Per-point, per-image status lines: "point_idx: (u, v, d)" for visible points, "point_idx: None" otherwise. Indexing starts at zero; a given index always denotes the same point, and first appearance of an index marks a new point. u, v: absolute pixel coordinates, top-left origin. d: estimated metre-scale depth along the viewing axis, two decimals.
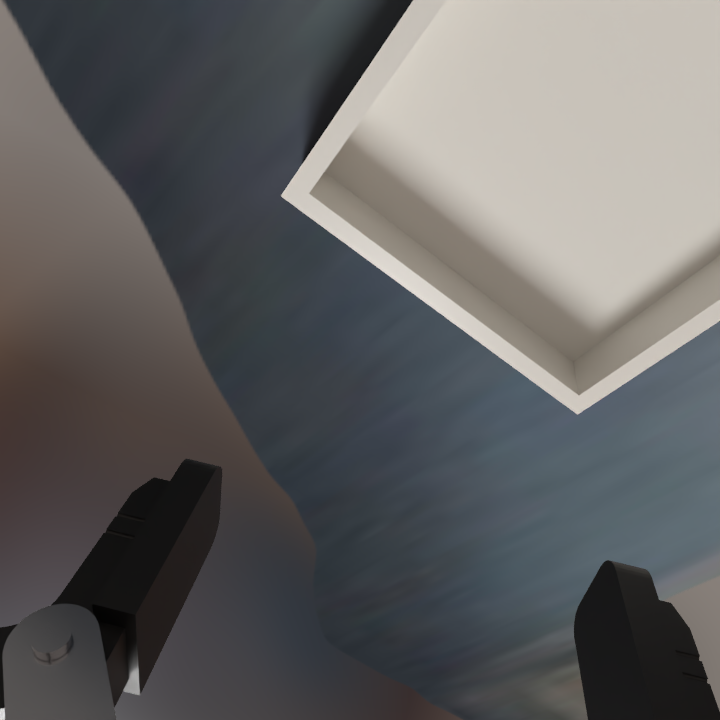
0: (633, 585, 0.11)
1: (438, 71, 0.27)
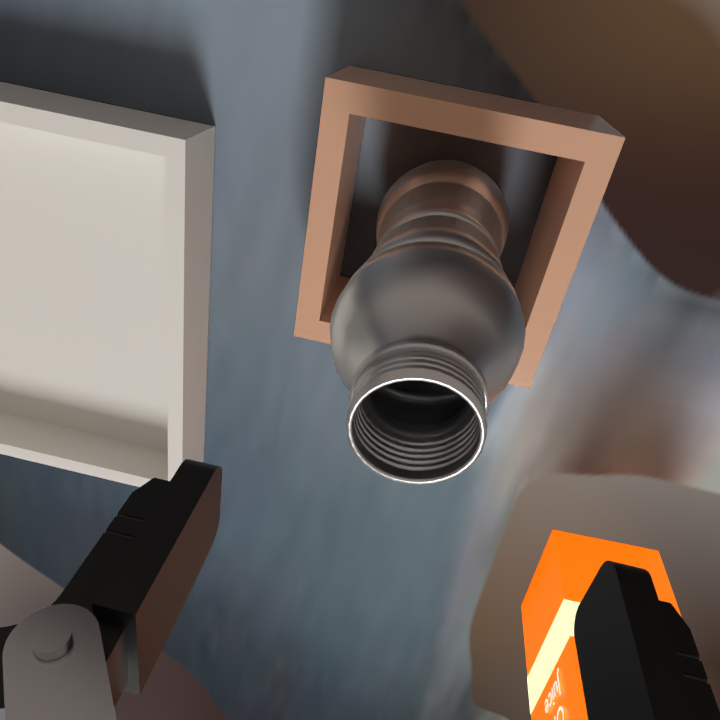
0: (633, 585, 0.11)
1: None
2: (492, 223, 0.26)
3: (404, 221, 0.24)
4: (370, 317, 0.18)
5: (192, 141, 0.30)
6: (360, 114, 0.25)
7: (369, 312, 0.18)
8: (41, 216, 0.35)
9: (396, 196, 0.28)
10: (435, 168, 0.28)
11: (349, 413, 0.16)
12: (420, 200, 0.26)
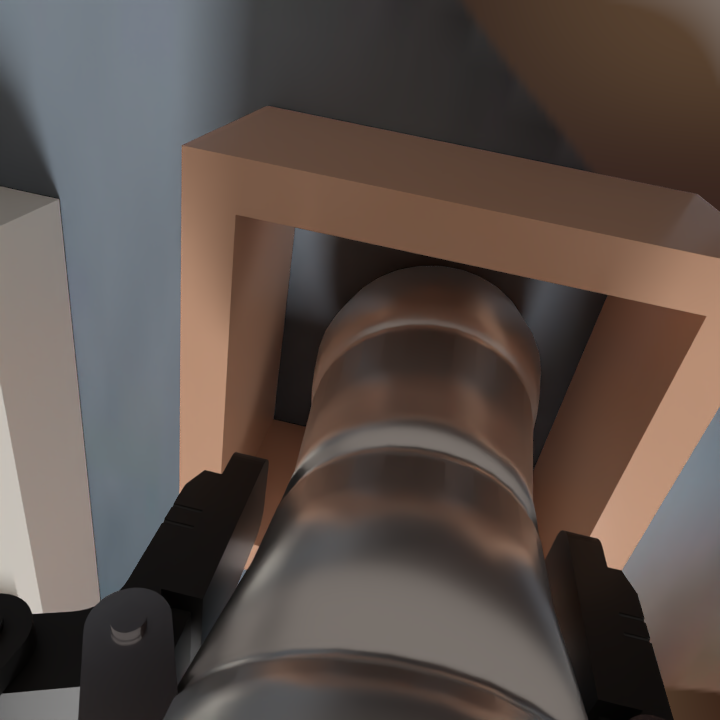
0: (583, 552, 0.11)
1: None
2: (518, 423, 0.13)
3: (339, 450, 0.11)
4: None
5: None
6: (257, 216, 0.13)
7: None
8: None
9: (342, 346, 0.15)
10: (412, 294, 0.16)
11: None
12: (378, 381, 0.13)
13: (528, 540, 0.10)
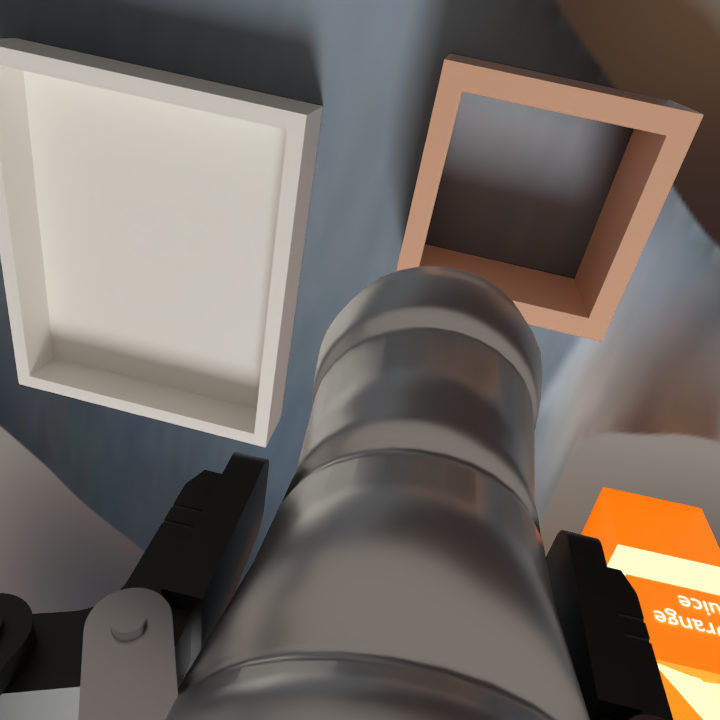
0: (583, 552, 0.11)
1: (65, 282, 0.45)
2: (519, 423, 0.13)
3: (340, 450, 0.11)
4: None
5: (310, 117, 0.34)
6: (471, 92, 0.29)
7: None
8: (158, 185, 0.40)
9: (343, 346, 0.15)
10: (413, 294, 0.16)
11: None
12: (379, 382, 0.13)
13: (530, 541, 0.10)
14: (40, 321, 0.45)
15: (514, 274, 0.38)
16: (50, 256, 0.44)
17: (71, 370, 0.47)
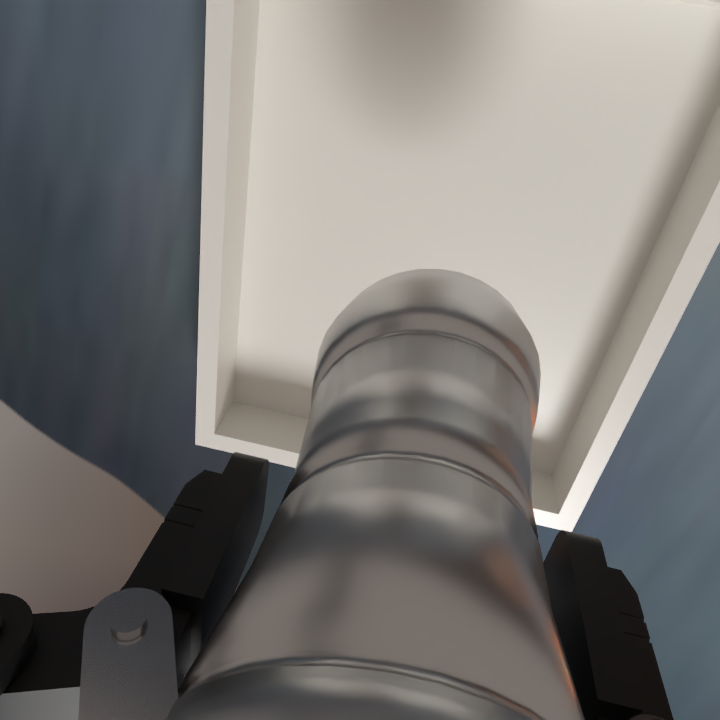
0: (583, 552, 0.11)
1: (272, 293, 0.30)
2: (517, 427, 0.13)
3: (338, 454, 0.12)
4: None
5: None
6: None
7: None
8: (463, 137, 0.25)
9: (342, 348, 0.15)
10: (411, 297, 0.16)
11: None
12: (377, 385, 0.13)
13: (527, 545, 0.10)
14: (230, 352, 0.30)
15: None
16: (255, 254, 0.29)
17: (266, 421, 0.32)
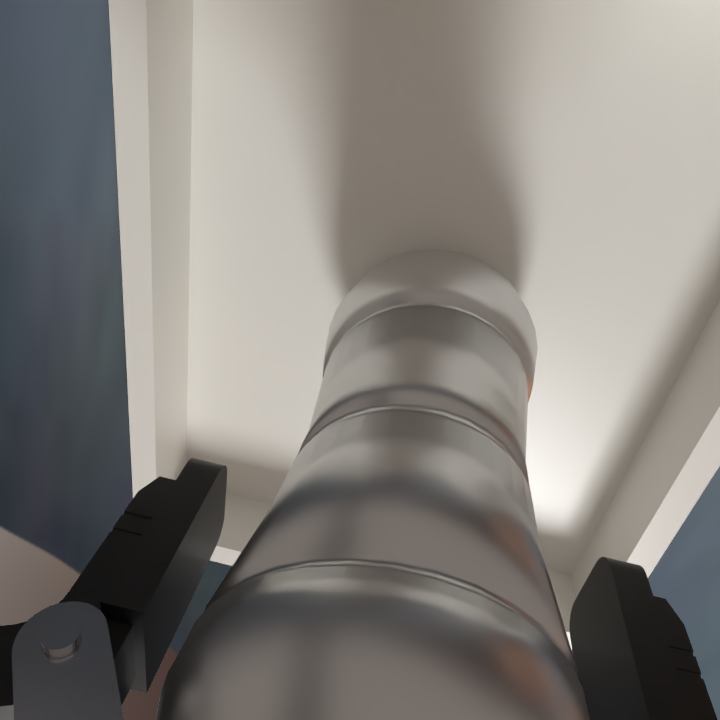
0: (627, 581, 0.11)
1: (226, 361, 0.24)
2: (513, 390, 0.14)
3: (349, 409, 0.13)
4: None
5: None
6: None
7: None
8: (463, 175, 0.19)
9: (351, 322, 0.17)
10: (416, 274, 0.17)
11: None
12: (384, 351, 0.14)
13: (518, 486, 0.12)
14: (176, 432, 0.25)
15: None
16: (204, 316, 0.23)
17: None
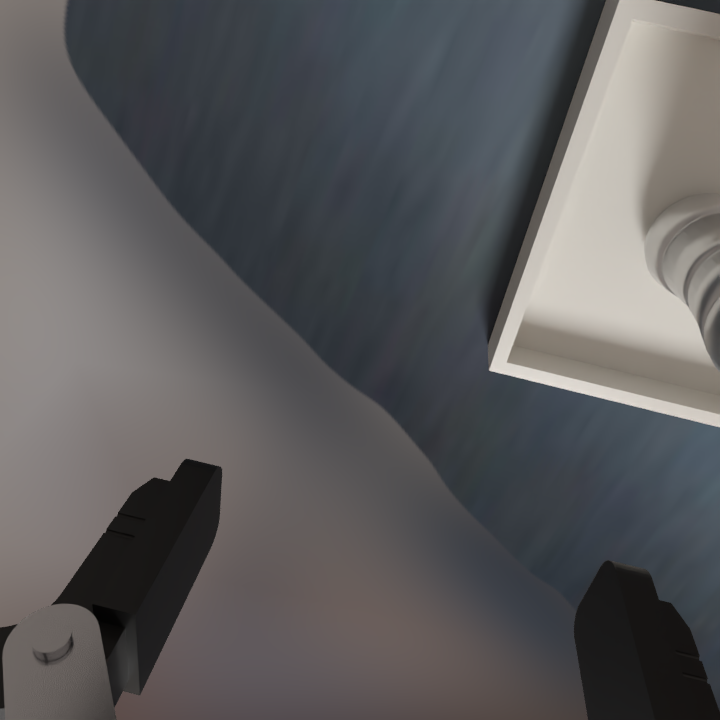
0: (633, 585, 0.11)
1: (557, 262, 0.42)
2: None
3: None
4: None
5: None
6: None
7: None
8: None
9: (686, 222, 0.35)
10: (715, 201, 0.35)
11: None
12: None
13: None
14: None
15: None
16: None
17: (534, 356, 0.45)
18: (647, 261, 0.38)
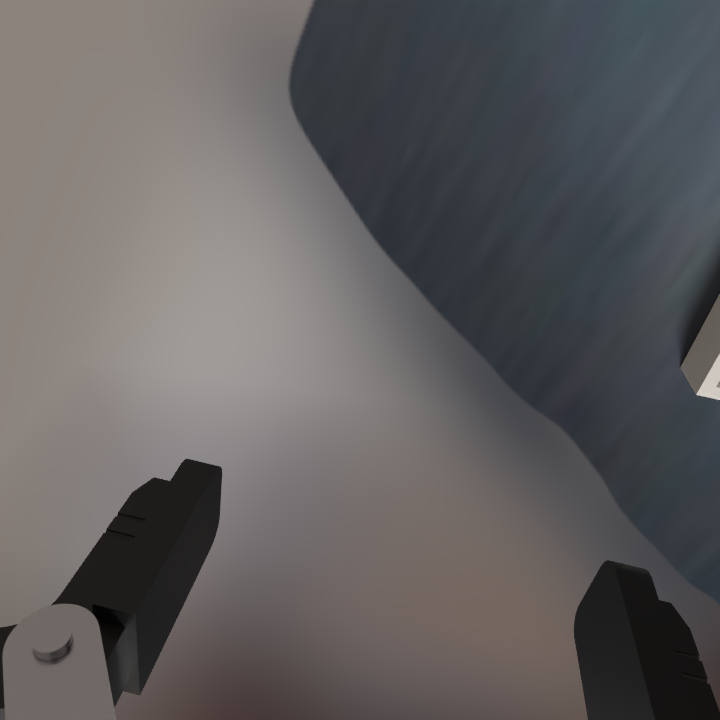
0: (633, 585, 0.11)
1: None
2: None
3: None
4: None
5: None
6: None
7: None
8: None
9: None
10: None
11: None
12: None
13: None
14: None
15: None
16: None
17: None
18: None
